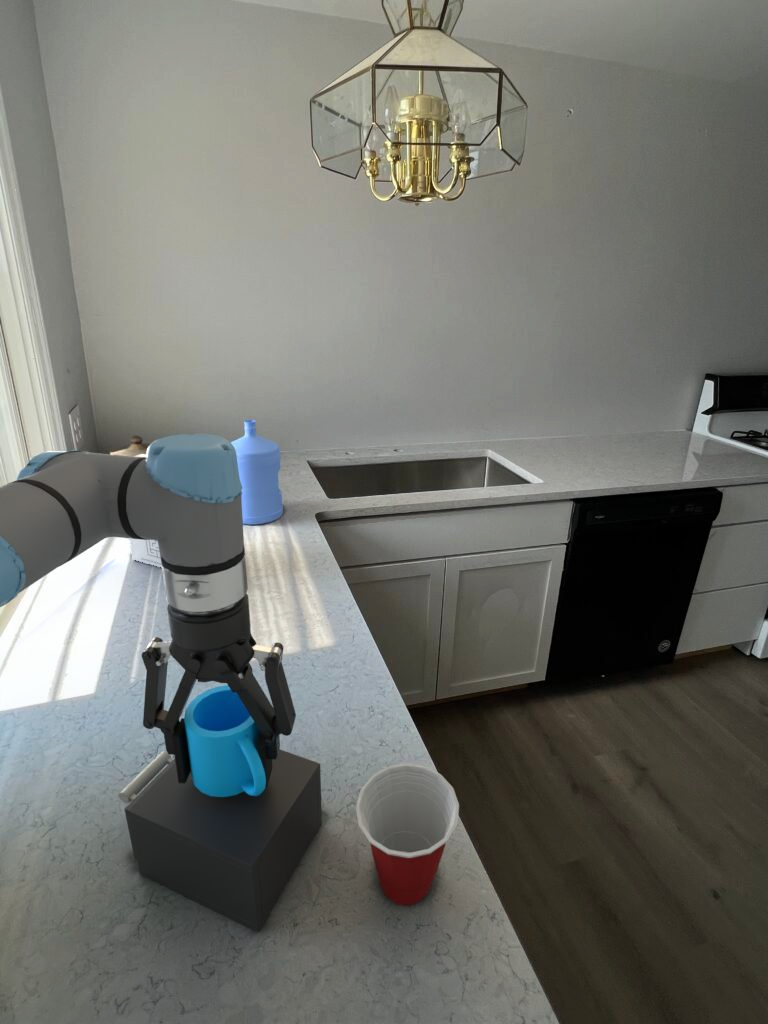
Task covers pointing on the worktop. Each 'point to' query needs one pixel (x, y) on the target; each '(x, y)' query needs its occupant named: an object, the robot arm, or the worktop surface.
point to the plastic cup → (407, 827)
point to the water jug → (258, 476)
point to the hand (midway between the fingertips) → (226, 775)
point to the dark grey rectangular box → (229, 838)
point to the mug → (223, 745)
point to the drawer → (144, 784)
